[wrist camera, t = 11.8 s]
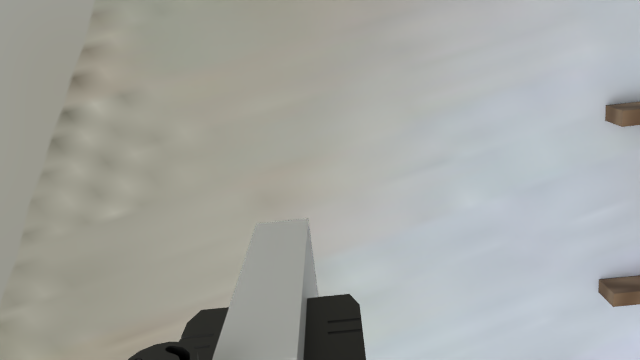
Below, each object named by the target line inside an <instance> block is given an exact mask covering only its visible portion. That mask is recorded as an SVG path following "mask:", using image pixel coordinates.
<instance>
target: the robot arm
mask: <svg viewBox="0 0 640 360" xmlns="http://www.w3.org/2000/svg"><path fill="white" fill-rule="evenodd" d="M128 360H366V356H365V348H364V339H363V331H362V322H361V314H360V305H359V304H358V303H357V302H356V300H355V299H354V298H353V297H352V296H351V295H350V294H345V295H334V296H324V297H318V290H317V282H316V275H315V267H314V259H313V251H312V244H311V236H310V228H309V220H308V218H306V219H296V220H287V221H277V222H267V223H258V224H256V226H255V229H254V232H253V235H252V238H251V241H250V245H249V248H248V251H247V254H246V257H245V260H244V263H243V266H242V269H241V272H240V275H239V278H238V281H237V285H236V288H235V291H234V294H233V297H232V300H231V303H230V306H229V307H228V308H217V309H207V310H201V311H200V312H199V313H198V314H197V315H195V316H194V317H193V318H192V319H191V320H190V321H189V322H188V323H187V325H186V327H185V329H184V332H183V334H182V336H181V339H180V341H179V342H166V343H161V344H156V345H153V346H151V347H148V348H146V349H143V350H141V351H139V352H138V353H136V354H135V355H133V356H132V357H130V358H129V359H128Z"/></svg>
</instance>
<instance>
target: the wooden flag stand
mask: <svg viewBox="0 0 640 360" xmlns="http://www.w3.org/2000/svg"><path fill="white" fill-rule="evenodd" d="M605 121H608V122H611V123H613V124H616V125H619V126H621V127H624V126H634V125H640V102H632V103H623V104H614V105H606V117H605ZM599 293H600V294H601V295H602V296H603V297H604V298H605V299H606V300H607V301H608V302H609V303H610V304H611V305H612V306H613V307H616V306H626V305H636V304H640V276H630V277H620V278H610V279H600V280H599Z"/></svg>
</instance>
